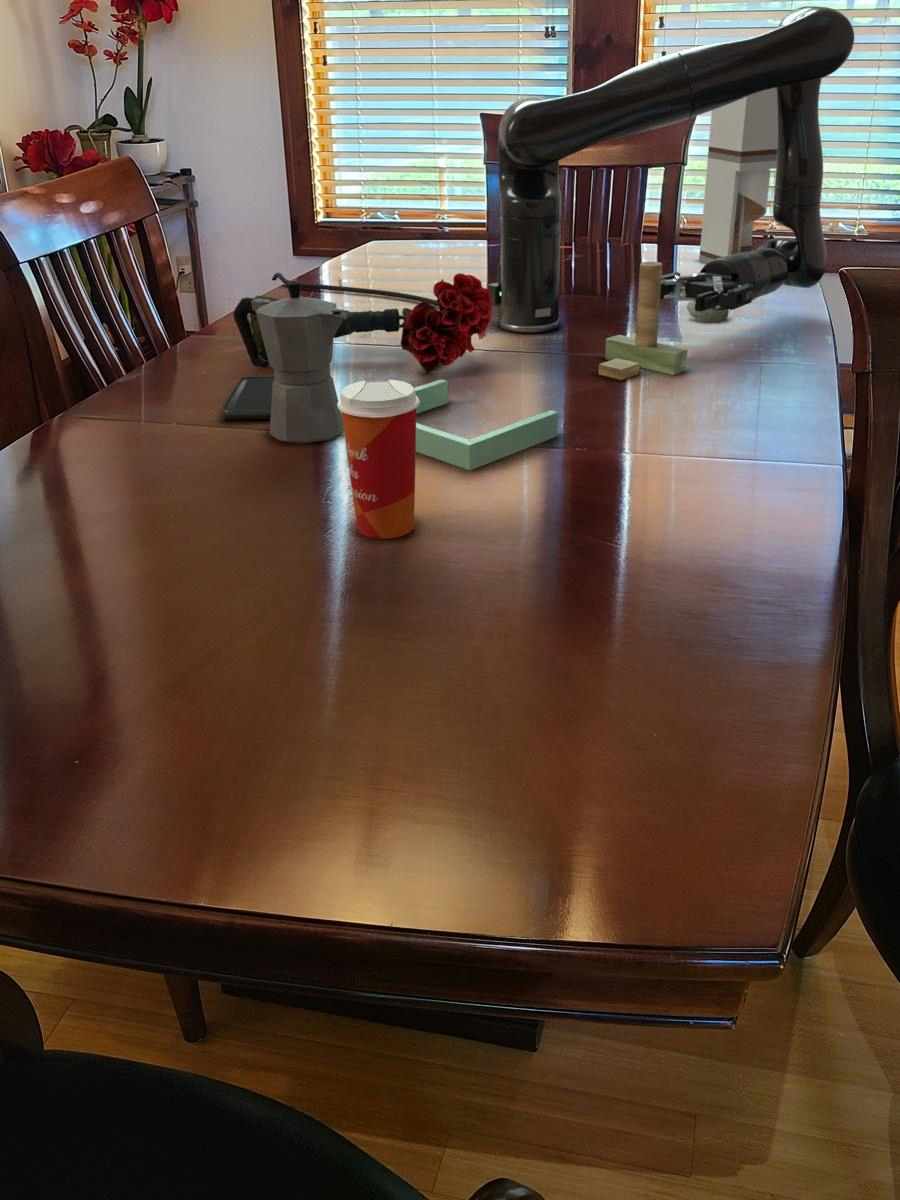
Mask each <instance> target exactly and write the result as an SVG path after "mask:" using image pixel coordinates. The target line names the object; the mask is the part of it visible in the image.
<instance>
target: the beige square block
mask: <svg viewBox="0 0 900 1200" xmlns="http://www.w3.org/2000/svg"><path fill="white" fill-rule="evenodd" d="M639 373H640V367H639V363H636V362H632V361H627V360H623V359H619V358H616V359H613V360H607V361H604V362H601V363H599V364H598V375H599V376H603V377H606V378H611V379H614V380H615V379H616V380H618V381H619V380H620V381H623V380H625V379H629V378H631V377H633V376H636V375H639Z"/></svg>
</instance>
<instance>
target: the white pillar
mask: <svg viewBox="0 0 900 1200" xmlns="http://www.w3.org/2000/svg"><path fill="white" fill-rule="evenodd" d="M777 145H778V108H777V87H776V88H772V89H768V90H764V91H761V92H758V93H755V94H752V95H749V96H747V97H745V98H742V99H740V100H737V101H735V102H732V103H730V104H727V105H725V106H722V107H719V108H717V109H714V110H711V114H710V125H709V139H708V149H707V160H706V161H707V162H706V174H705V175H706V176H705V185H704V186H705V187H704V197H703V198H704V199H703V210H702V222H701V236H700V247H699V257H698V260H699V262H702V263H704V264H707V263H708V262H710V261H711V260H714V259H717V258H721V257H725V256H728V255H732V254H735V253H740V252H749V251H753V250H756V249H757V248H758V247H759V246H755V245H752V242H753V241H752V240H753V232H754V222H755V221H757V220H759V219H761V218H763V217H764V216H765V215H766V213H767V208H768V199H769V189H770V180H771V170H773V169H775V170H776V164H777Z"/></svg>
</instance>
